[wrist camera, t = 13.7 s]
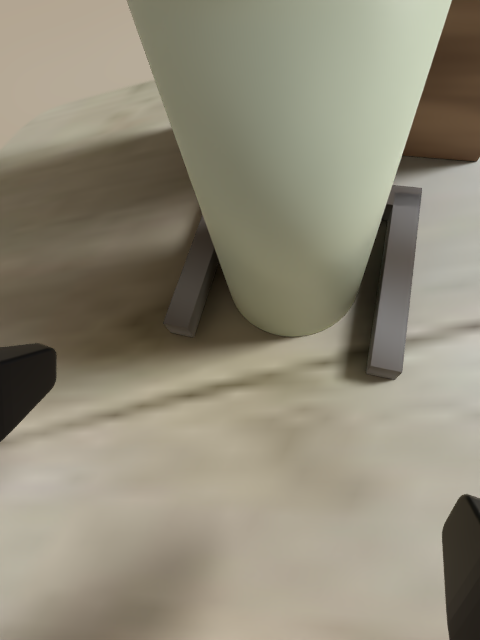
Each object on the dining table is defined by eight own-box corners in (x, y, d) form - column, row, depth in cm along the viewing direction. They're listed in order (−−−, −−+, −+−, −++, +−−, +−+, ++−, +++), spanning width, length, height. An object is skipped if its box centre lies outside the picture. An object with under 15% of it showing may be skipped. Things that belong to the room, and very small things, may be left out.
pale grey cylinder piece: (248, 353, 17) (141, 74, 5) (216, 244, 20) (98, -102, 8) (381, 313, 17) (571, -64, 5) (331, 209, 20) (382, -197, 8)
